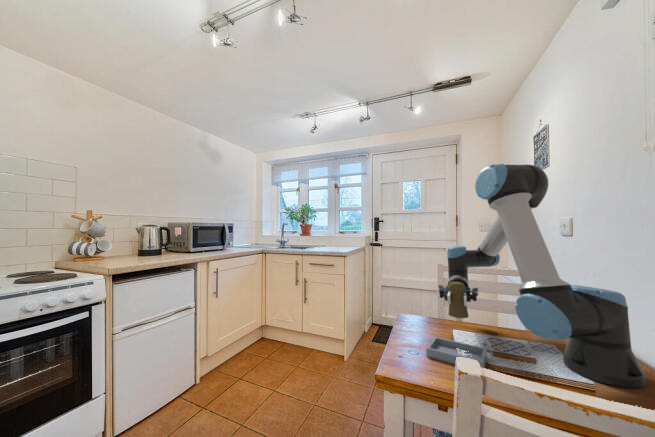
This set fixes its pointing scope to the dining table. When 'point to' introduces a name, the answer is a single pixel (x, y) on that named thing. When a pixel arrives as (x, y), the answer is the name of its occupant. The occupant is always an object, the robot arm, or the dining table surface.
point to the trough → (454, 351)
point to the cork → (457, 300)
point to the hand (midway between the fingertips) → (456, 300)
